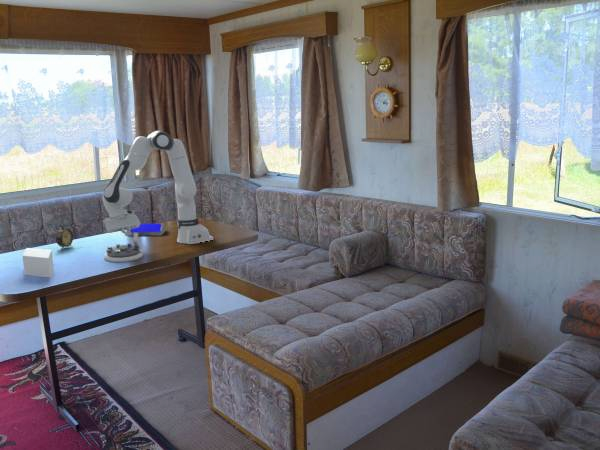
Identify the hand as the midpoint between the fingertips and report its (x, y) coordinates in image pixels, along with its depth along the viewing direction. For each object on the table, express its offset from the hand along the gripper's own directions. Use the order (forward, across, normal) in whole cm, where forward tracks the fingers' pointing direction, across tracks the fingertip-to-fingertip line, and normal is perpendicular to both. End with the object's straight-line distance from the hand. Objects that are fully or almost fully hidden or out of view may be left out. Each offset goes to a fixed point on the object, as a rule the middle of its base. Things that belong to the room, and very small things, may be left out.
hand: (128, 235), depth 313 cm
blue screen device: (-17, +32, +32) cm, 48 cm away
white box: (+6, -50, +9) cm, 52 cm away
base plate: (+11, -7, +3) cm, 14 cm away
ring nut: (+10, -7, +2) cm, 12 cm away
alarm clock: (-20, -21, +35) cm, 45 cm away
